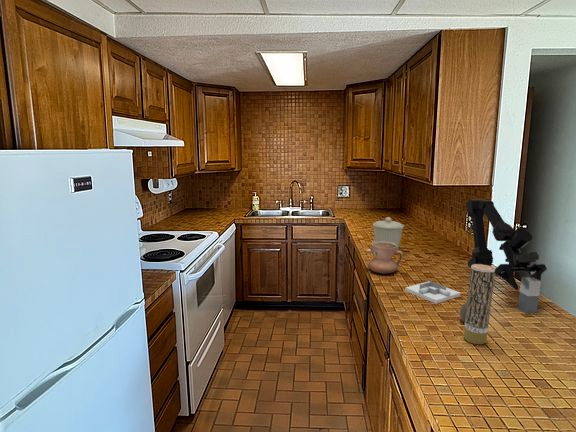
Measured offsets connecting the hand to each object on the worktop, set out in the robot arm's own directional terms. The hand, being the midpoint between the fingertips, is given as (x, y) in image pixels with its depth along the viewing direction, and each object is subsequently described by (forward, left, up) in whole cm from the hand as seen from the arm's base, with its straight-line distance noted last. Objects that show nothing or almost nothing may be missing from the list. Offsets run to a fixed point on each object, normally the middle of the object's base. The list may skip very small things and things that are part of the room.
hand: (528, 289), depth 148 cm
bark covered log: (+38, -15, -9) cm, 41 cm away
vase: (+25, -18, -9) cm, 31 cm away
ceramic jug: (-15, -61, -9) cm, 64 cm away
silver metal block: (+1, 0, -8) cm, 8 cm away
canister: (-52, -72, -9) cm, 89 cm away
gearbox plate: (+3, -35, -8) cm, 36 cm away
